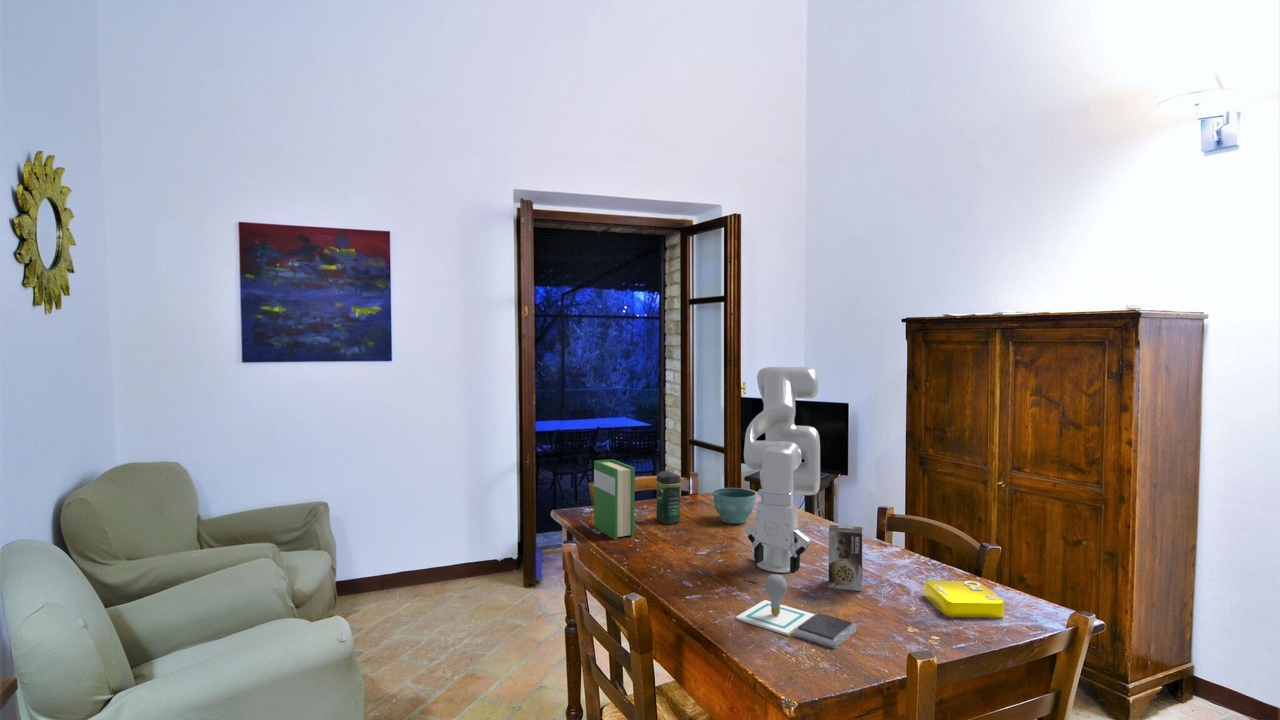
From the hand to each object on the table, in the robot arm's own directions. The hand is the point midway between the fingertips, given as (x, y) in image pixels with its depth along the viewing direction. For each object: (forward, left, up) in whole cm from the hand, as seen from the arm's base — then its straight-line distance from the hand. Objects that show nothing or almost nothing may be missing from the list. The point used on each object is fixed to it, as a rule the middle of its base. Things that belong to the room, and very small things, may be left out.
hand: (776, 566), depth 166 cm
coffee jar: (-73, +50, -13) cm, 89 cm away
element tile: (+33, +38, -13) cm, 52 cm away
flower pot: (-55, +67, -13) cm, 88 cm away
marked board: (0, -1, -13) cm, 13 cm away
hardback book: (-79, +27, -13) cm, 85 cm away
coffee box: (+4, +31, -13) cm, 34 cm away
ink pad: (+13, -1, -13) cm, 18 cm away
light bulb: (0, 0, -12) cm, 12 cm away
